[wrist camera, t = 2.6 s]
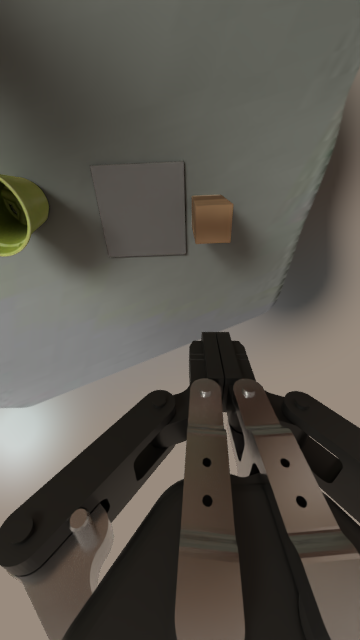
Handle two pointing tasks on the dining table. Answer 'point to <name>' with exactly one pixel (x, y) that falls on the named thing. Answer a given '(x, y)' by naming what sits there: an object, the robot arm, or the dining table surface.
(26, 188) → the plant pot
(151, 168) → the mat
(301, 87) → the dining table surface
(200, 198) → the tan wooden block
